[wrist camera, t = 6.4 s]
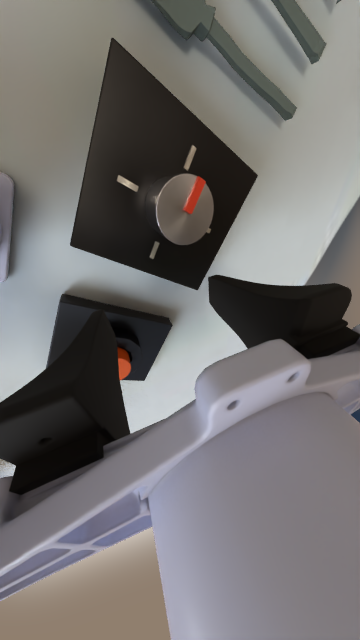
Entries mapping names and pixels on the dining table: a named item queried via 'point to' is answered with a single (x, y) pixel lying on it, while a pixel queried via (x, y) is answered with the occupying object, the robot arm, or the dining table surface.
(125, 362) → the button
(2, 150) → the dining table surface
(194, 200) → the oven dial
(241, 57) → the green plate with cutlery
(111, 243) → the dial panel
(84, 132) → the dining table surface
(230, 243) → the dining table surface
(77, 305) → the button housing
